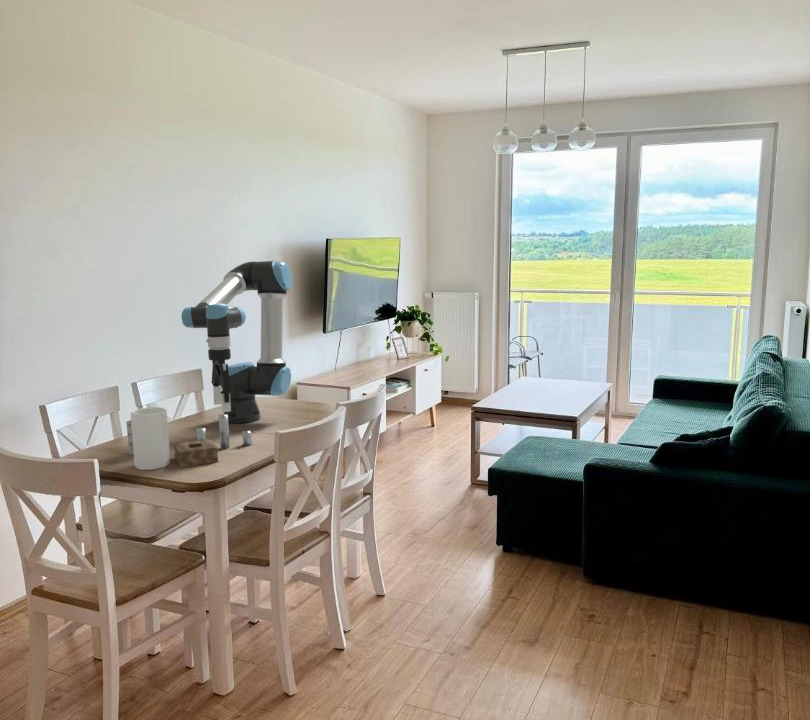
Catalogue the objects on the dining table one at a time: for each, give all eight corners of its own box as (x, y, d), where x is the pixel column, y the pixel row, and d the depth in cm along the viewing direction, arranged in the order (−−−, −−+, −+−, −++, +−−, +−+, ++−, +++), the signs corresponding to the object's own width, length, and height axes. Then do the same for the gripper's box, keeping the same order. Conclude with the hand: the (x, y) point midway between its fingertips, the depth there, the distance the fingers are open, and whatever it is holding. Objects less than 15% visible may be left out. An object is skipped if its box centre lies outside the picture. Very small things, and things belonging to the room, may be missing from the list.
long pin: (228, 446, 269) (226, 413, 267) (230, 448, 266) (228, 415, 264) (219, 447, 267) (217, 414, 265) (221, 449, 264) (219, 416, 263)
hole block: (210, 452, 260) (209, 439, 260) (218, 461, 250) (217, 447, 249) (175, 457, 255) (174, 443, 254) (181, 467, 245) (180, 452, 244)
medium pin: (206, 449, 265) (204, 427, 264) (207, 451, 262) (206, 429, 261) (196, 450, 264) (195, 428, 263) (198, 452, 261) (197, 430, 260)
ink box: (157, 452, 262) (155, 419, 261) (147, 456, 258) (144, 422, 256) (138, 450, 266) (135, 417, 264) (128, 453, 262) (125, 420, 260)
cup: (154, 458, 255) (150, 405, 252) (177, 463, 249) (173, 409, 246) (127, 467, 246) (122, 412, 243) (150, 472, 240) (146, 416, 237)
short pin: (250, 443, 272) (249, 429, 271) (252, 445, 269) (252, 431, 269) (241, 444, 271) (241, 430, 270) (244, 446, 268) (243, 432, 267)
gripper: (201, 345, 270) (204, 402, 273) (216, 353, 248) (219, 415, 251) (222, 343, 273) (225, 400, 277) (238, 351, 251) (241, 413, 254)
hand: (222, 408), depth 264 cm, fingers open, 13 cm apart
